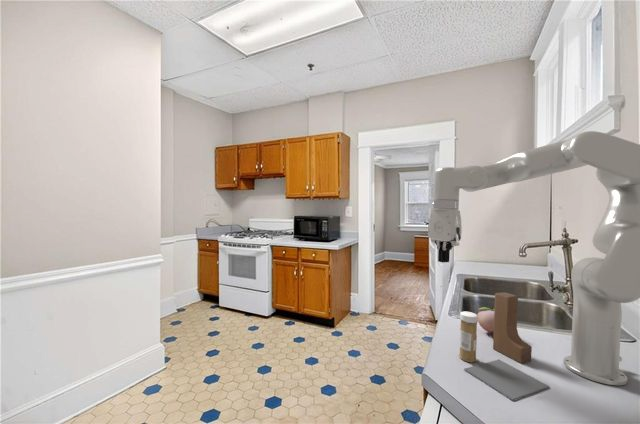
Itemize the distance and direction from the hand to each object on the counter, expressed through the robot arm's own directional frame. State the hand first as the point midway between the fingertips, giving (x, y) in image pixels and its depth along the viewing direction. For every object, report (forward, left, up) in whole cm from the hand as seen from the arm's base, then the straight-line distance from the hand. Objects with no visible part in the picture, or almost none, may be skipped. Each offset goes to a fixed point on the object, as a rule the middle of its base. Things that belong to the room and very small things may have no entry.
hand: (443, 261), depth 91 cm
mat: (-1, +21, -27) cm, 34 cm away
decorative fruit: (-23, +1, -27) cm, 36 cm away
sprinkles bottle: (0, +10, -27) cm, 29 cm away
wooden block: (-15, +13, -27) cm, 34 cm away
